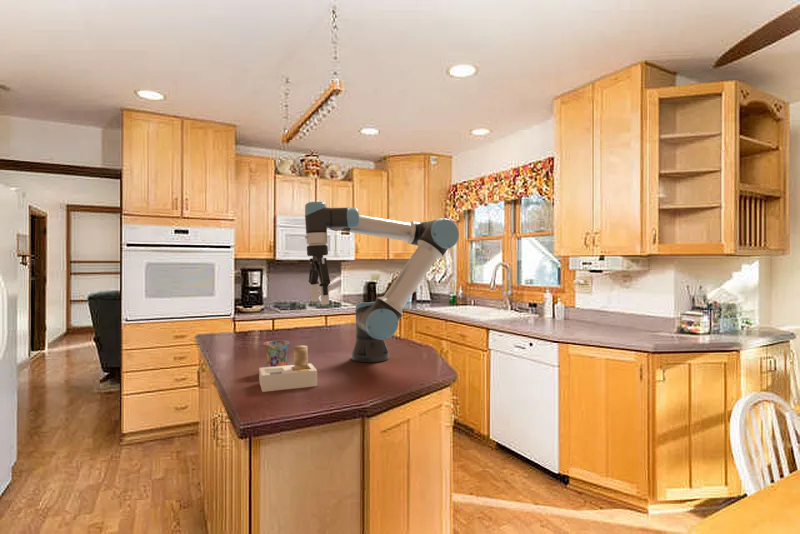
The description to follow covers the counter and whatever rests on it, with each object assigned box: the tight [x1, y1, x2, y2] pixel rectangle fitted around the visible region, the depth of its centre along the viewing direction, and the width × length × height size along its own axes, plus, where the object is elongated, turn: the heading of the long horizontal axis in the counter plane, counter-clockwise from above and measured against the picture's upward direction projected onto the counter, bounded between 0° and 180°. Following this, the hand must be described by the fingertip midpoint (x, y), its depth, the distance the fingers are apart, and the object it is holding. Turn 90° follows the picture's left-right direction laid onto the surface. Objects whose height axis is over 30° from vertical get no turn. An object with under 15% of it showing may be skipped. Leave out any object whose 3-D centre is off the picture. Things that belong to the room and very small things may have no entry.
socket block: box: [258, 363, 318, 393], centre depth 149 cm, size 17×11×5 cm, turn 111°
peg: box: [293, 345, 309, 371], centre depth 150 cm, size 4×4×11 cm
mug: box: [262, 340, 290, 367], centre depth 167 cm, size 12×9×11 cm
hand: (320, 303), depth 167 cm, fingers open, 13 cm apart
